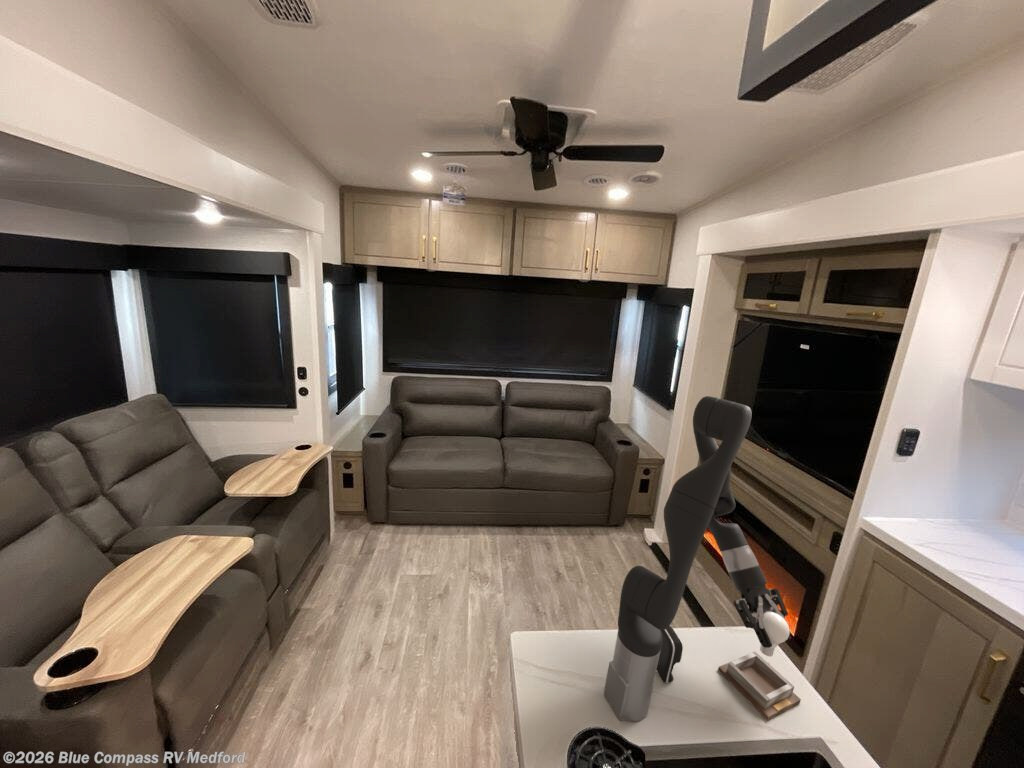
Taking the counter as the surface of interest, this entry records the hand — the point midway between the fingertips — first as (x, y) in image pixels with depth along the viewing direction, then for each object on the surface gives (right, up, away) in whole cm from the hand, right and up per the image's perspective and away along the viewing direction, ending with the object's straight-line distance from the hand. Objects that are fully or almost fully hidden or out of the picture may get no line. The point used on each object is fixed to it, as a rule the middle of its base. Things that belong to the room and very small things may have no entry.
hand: (777, 642), depth 93 cm
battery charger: (-25, -11, +6) cm, 28 cm away
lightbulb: (-1, -5, +3) cm, 5 cm away
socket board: (-2, -14, +5) cm, 14 cm away
